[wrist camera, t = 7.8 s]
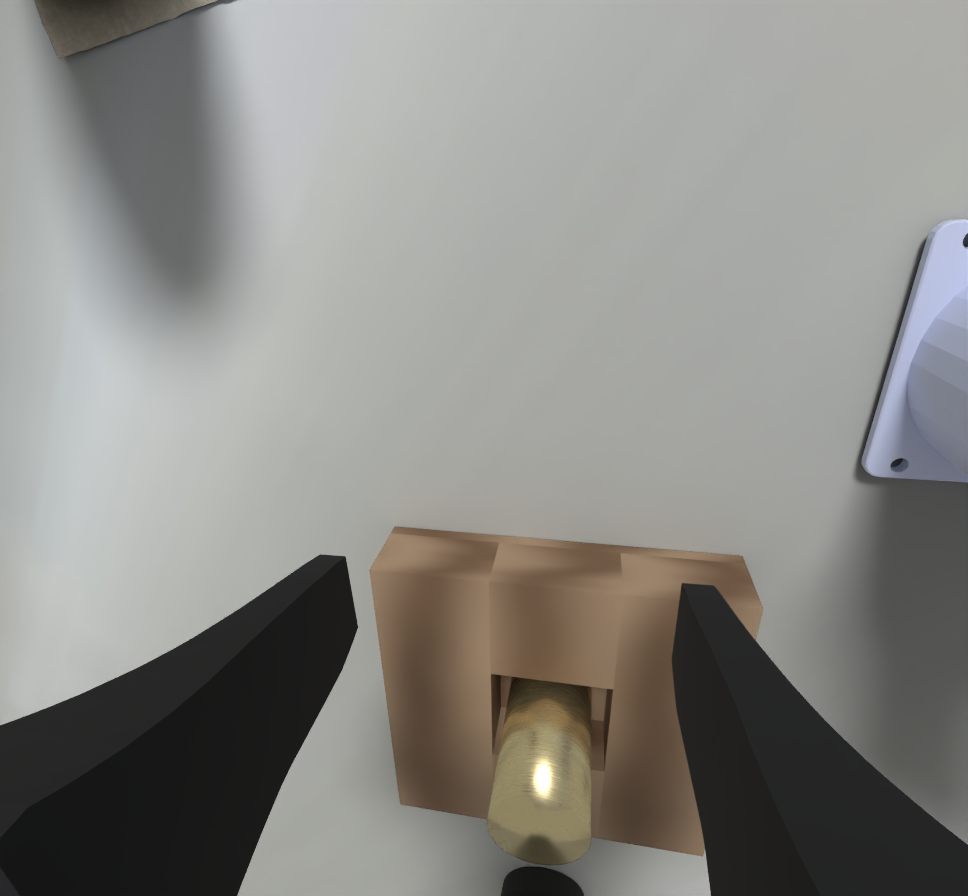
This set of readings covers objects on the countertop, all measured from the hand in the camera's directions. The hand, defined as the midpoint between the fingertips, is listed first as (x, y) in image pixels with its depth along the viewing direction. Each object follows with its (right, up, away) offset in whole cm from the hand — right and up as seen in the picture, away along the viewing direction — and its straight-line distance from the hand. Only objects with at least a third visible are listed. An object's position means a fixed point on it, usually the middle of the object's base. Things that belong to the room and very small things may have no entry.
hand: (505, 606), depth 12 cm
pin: (+3, -7, +13) cm, 15 cm away
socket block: (+3, -7, +14) cm, 16 cm away
